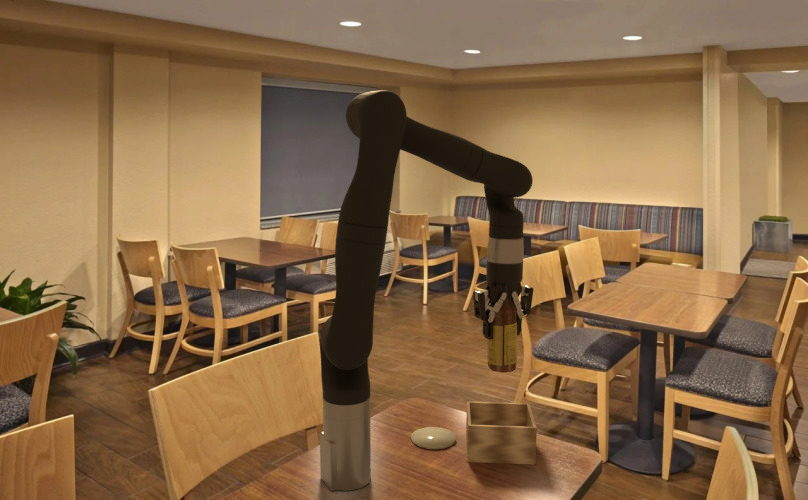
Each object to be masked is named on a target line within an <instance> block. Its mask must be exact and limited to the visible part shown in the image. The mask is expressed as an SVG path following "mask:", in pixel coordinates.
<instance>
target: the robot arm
mask: <svg viewBox="0 0 808 500" xmlns="http://www.w3.org/2000/svg"><path fill="white" fill-rule="evenodd" d="M345 110H346V111H345V112H346V113H345V120H346V124H347V127H348V128H349V130H350V131H351V133H352V135H354V136H355V137H357V138H358V139H359V144H358V145H359V146H358V157H357V164H356V167H355V172H354V175H353V177H352V179H351V182H350V184H349V187H348V189H347V191H346V193H345V196H344V199H343V201H342V204H341V206H340V209H339V215H338V219H337V220H338V221H337V227H336V228H337V229H336V233H335V247H334V266H335V267H334V268H335V269H334V270H335V271H334V273H335V298H334V305H333V310H332V314H331V316H330V317H328V318H327V319H326V321H324V323H323V326H322V328H321V330H320V345H319V346H320V373H321V384H322V385H321V387H322V417H323V418H322V430H323V431H321V432H320V433H319V459H320V460H319V464H320V466H319V467H320V469H319V470H320V471H319V472H320V478H321V480H322V481H323V482H324V484H325V485H326V486H327V488H328V489H329V490H330V491H331V492H334V491H354V490H358V489H362V488H364V487H365V486H367V485H368V484H369V483H370V481H371V479H372V472H371V471H372V465H371V464H372V463H371V462H372V458H371V457H372V455H371V454H372V453H371V452H372V451H371V450H372V449H371V441H372V439H371V433H372V432H371V379H370V373H369V365H368V364H369V357H370V356H371V352H372V350H373V343H374V315H375V303H376V302H375V300H376V293H377V290H378V289H377V288H378V284H379V281H380V276H381V275H380V274H381V269H382V263H383V259H384V254H385V248H386V243H387V234H388V229H389V228H388V227H389V219H390V212H391V211H390V209H391V205H392V204H391V203H392V196H393V188H394V181H395V180H394V179H395V174H396V168H397V164H398V160H399V155H400V151H403V152H406V153H409V154H411V155H413V156H415V157H418V158H420V159H421V160H423V161H426V162H428V163H430V164H433V165H435V166H437V167H439V168H440V169H443V170H445V171H447V172H449V173H451V174H454V176H455V175H456V176H457V177H460V178H462V179H465V180H466V181H469V182H471V183H472V182H473V183H478V184H483V190H484V197H485V201H486V207H487V208H486V209H487V211H488V215H489V216H488V217H489V221H488V222H489V223H488V241H487V246H486V268H485V269H486V275H485V278H486V282H487V283H486V287H485V289H483V290H473V293H472V294H473V295H472V297H473V309H474V317H475V318H476V319H479V320H481V321H482V335H483V336H484V338H485V339H489V340H490V339H493V322H492V321H493V319H494V317H495V313H498V312H499V309H500V308H501V305H502V303H503V301H504V300H505V298H506V296H507V294H506V293H505V292H500V290H501V289H500V284H512V285H511V291H510V296H511V300H512V301H513V303H514V305H515V307H516V321H517V337H518V336H520V334H521V332H522V327H523V326H522V324H523V318H524V317H525V316H526V315H527V316H528V315H530V314H531V312H532V306H533V305H532V303H533V296H534V288H533V287H532V286H528V285H525V284H524V285H522V284H521V282H522V281H523V278H524V276H523V275H524V274H523V273H524V251H525V249H524V248H525V247H524V222H525V221H524V219H525V218H524V214H523V212H522V211H521V210H519V209H518V208H517V207H516V205H515V199H516V198H521V197H523V196H525V195H527V194H528V193H529V191H531V189H532V186H533V175H532V172H531V171H530V169H529V168H528V167H527V166H526V165H525V164H523V163H522V162H521V161H519V160H518V161H517V160H516V159H512V158H510V157H507V156H504V155H501V154H499V153H495V152H491V151H489V150H487V149H486V148H483V146H480V145H479V144H476V143H474V142H472V141H471V140H470V141H469V140H468V139H466V138H463V137H461V136H459V135H456V134H453V133H451V132H447V131H444V130H441V129H439V128H434V127H432V126H429V125H427V124H424V123H422V122H421V121H417V120H415V119H413V118H411V117H409V116H407V109H406V105H405V103H404V101H403V100H402V98H401V97H400V95H398V94H397V93H395V92H394V91H390V90H385V89H381V90H372V91H366V92H363V93H360V94H358V95H356V96H355V97H354V98H352V100H351V101H350V102H349V104H348V106H347V107H346V109H345ZM519 297H520V299H519ZM487 298H488V299H487ZM491 303H492V304H493V305H495V306H494V307H491V306H490V304H491ZM489 310H491V311H490V314H489Z"/></svg>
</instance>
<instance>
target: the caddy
mask: <svg viewBox="0 0 808 500" xmlns="http://www.w3.org/2000/svg"><path fill="white" fill-rule="evenodd" d="M465 420H466V422H465V423H466V424H465V425H466V426H465V438H466V440H465V441H466V458H467V459H466V460H467V463H484V464H485V463H486V464H509V465H511V464H512V465H514V464H515V465H536V457H537V456H536V453H537V431H538V430H537V429H538V428H537V425H536V421H535V418H534V415H533V412H532V408H531V405H530V403H529V402H528V403H527V402H526V403H525V402H501V401H500V402H499V401H498V402H496V401H495V402H494V401H493V402H492V401H468V400H467V401H466V419H465Z"/></svg>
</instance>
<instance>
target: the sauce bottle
mask: <svg viewBox="0 0 808 500" xmlns="http://www.w3.org/2000/svg"><path fill="white" fill-rule="evenodd" d="M511 285H512V284H500V289H501V290H500V292H505V293H506V294H507V296H506V298H505V300H504V301H503V303H502V305H501V308H500V309H499V312H498V313H495V317H494V319H493V321H492V322H493V339H490V340H489V339H487V338H486V339H487V341H486V343H487V350H486V351H487V366H488V369H489V370H491V371H493V372H496V373H504V374H505V373H512V372H514V371H515V370H516V369H517V362H518V336H517V321H516V307H515V305H514V303H513V301H512V300H511V296H510V291H511ZM490 306H491V307H494V306H495V305H493V304H492V303H491V304H490ZM490 311H491V310H489V314H490Z"/></svg>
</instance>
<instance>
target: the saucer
mask: <svg viewBox="0 0 808 500" xmlns="http://www.w3.org/2000/svg"><path fill="white" fill-rule="evenodd" d="M410 436H411V437H410V440H411V442H412V444H414V445H415V446H416V447H420V448H423V449H427V450H442V449H447V448H449V447H452V446H453V445H454V444H455V443H456V440H457V439H456V437H457V436H456V434H455V433H454V432H453V431H451V430H449V429H446V428H444V427H437V426H428V427H427V426H426V427H422V428H418V429H416V430H415V431H413V432H412V433H411V435H410Z"/></svg>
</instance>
